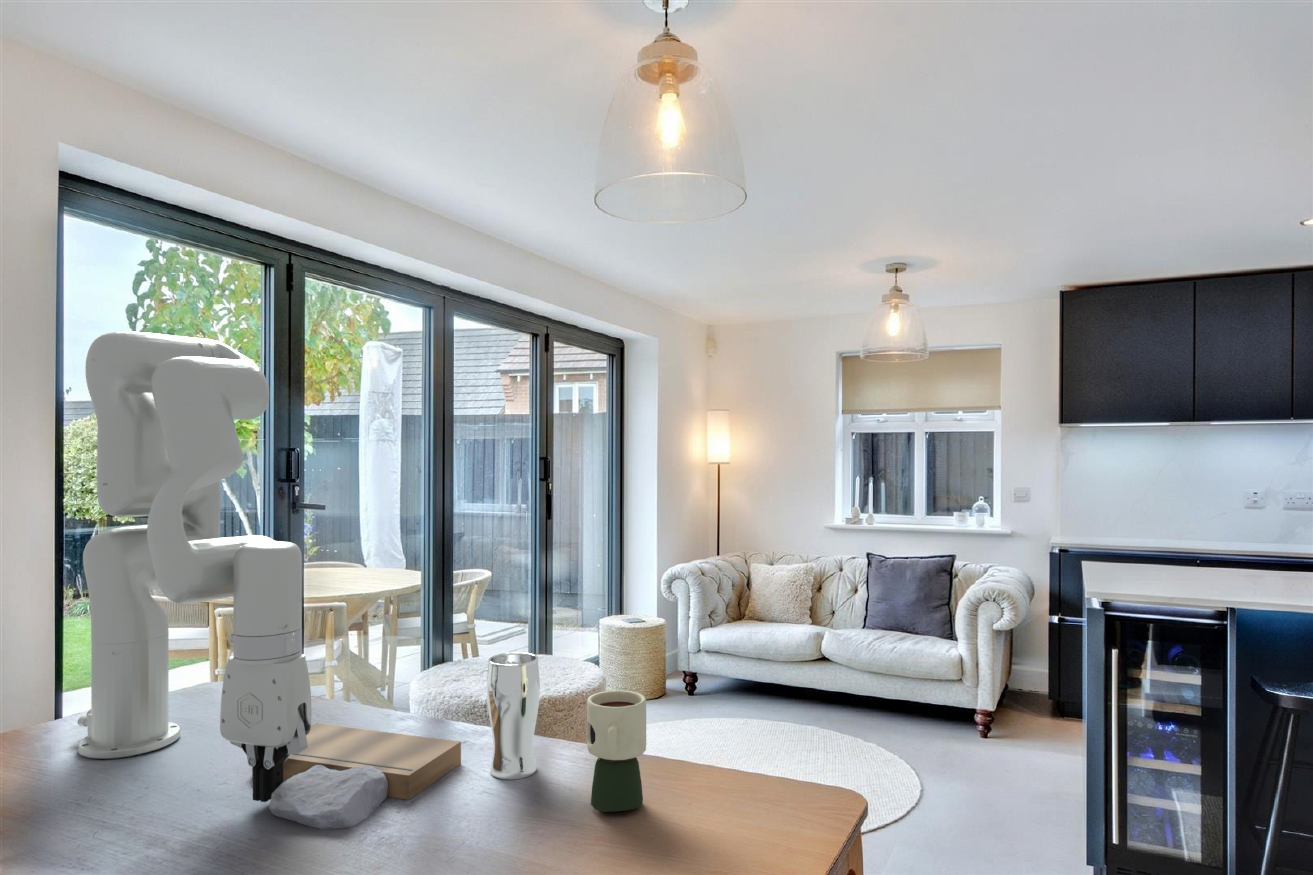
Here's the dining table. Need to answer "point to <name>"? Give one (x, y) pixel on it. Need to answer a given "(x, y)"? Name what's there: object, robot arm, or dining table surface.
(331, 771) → the stone block
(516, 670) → the beer glass
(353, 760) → the brown wooden board
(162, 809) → the dining table surface
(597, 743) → the character mug
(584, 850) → the dining table surface
